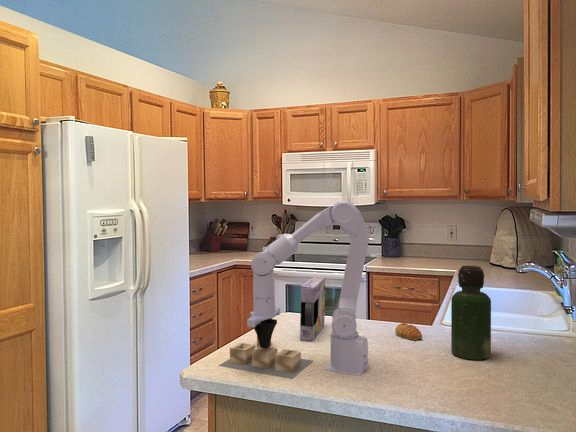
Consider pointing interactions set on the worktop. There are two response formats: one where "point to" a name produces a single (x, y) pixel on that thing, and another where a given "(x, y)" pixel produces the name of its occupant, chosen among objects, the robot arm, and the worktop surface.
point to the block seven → (241, 353)
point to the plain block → (264, 357)
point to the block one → (288, 360)
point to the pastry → (408, 332)
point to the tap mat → (269, 371)
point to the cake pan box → (312, 308)
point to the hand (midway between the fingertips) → (264, 347)
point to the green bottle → (471, 316)
